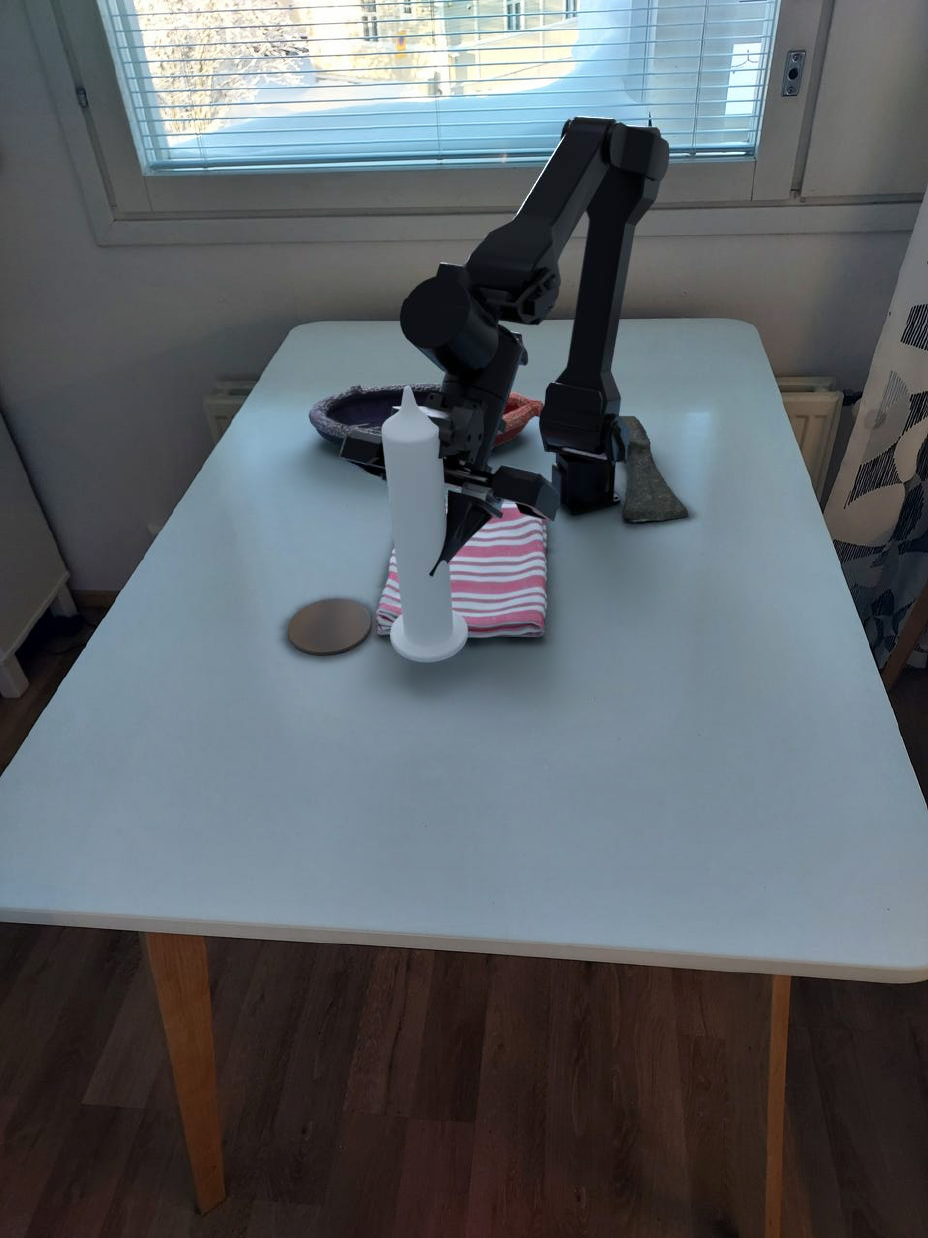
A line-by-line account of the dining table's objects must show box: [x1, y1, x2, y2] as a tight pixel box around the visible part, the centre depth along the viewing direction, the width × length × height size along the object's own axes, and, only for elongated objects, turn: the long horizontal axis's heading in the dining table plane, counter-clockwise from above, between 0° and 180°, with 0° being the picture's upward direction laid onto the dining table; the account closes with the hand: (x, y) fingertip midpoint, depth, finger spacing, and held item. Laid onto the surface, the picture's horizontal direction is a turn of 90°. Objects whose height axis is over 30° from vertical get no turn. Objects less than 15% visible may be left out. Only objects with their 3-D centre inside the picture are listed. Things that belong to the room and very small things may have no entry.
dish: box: [308, 382, 544, 448], centre depth 121 cm, size 16×31×5 cm, turn 84°
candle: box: [382, 386, 469, 663], centre depth 76 cm, size 7×7×25 cm
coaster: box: [287, 598, 372, 656], centre depth 94 cm, size 8×8×1 cm
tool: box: [619, 415, 689, 523], centre depth 112 cm, size 21×8×3 cm, turn 5°
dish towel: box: [375, 502, 548, 639], centre depth 98 cm, size 17×23×4 cm
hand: (417, 572), depth 78 cm, fingers closed on candle, 2 cm apart
